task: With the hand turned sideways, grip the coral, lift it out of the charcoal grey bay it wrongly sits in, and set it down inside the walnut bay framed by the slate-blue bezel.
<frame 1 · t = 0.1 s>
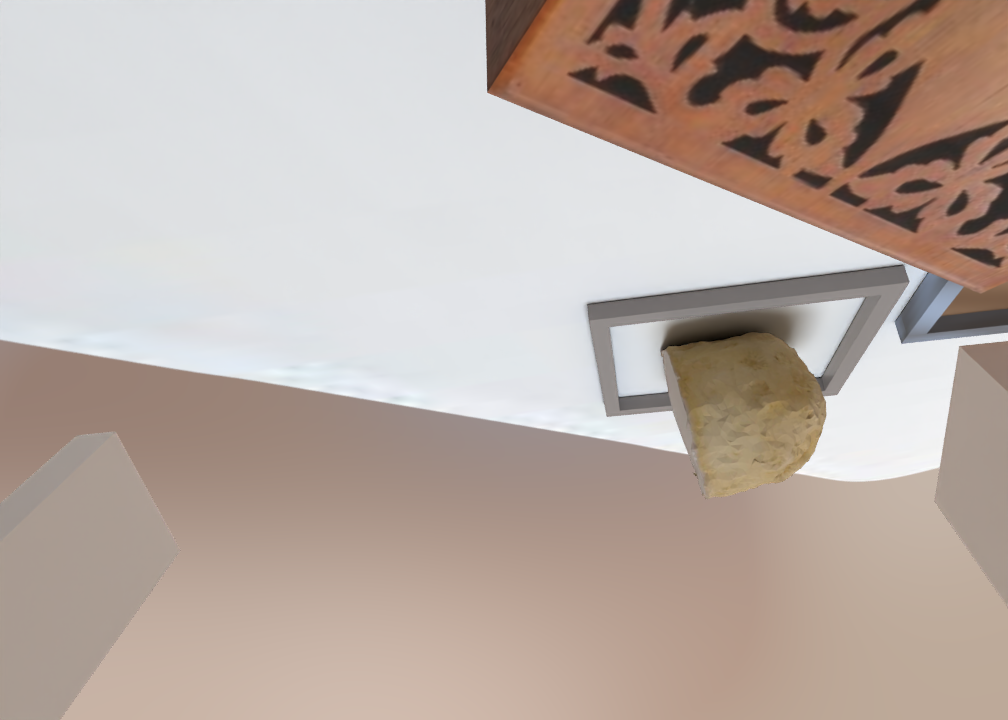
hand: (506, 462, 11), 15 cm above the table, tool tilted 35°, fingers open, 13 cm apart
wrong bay: (726, 348, 42), on the table
coral: (725, 344, 42), on the table
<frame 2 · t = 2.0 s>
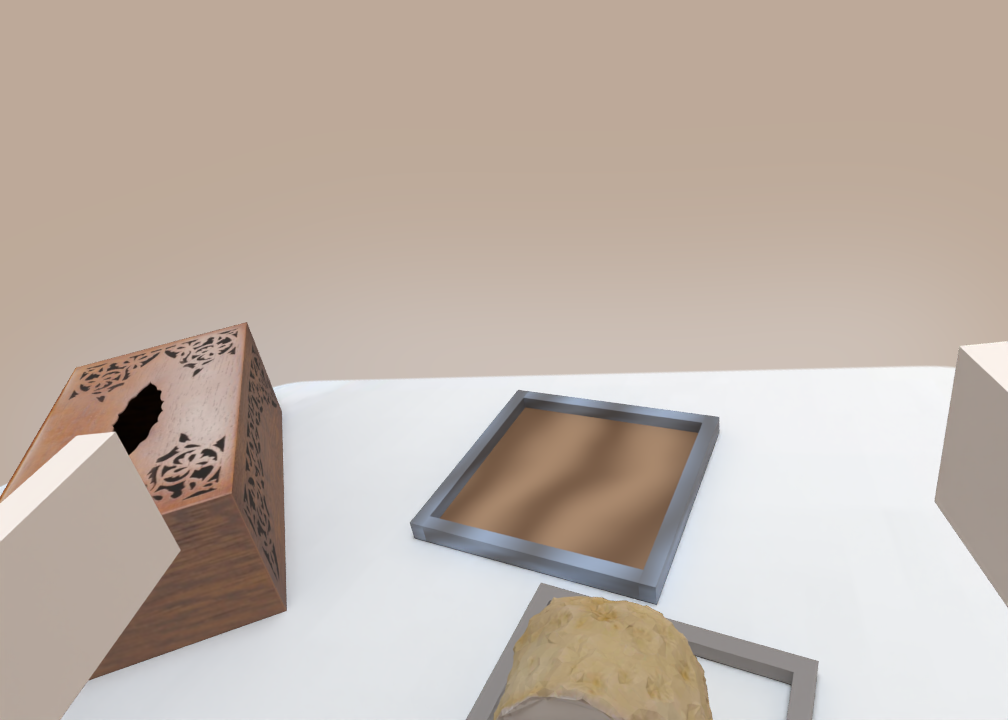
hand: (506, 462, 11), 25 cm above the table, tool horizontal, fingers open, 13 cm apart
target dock: (574, 482, 48), on the table
tissue box cover: (193, 524, 52), on the table
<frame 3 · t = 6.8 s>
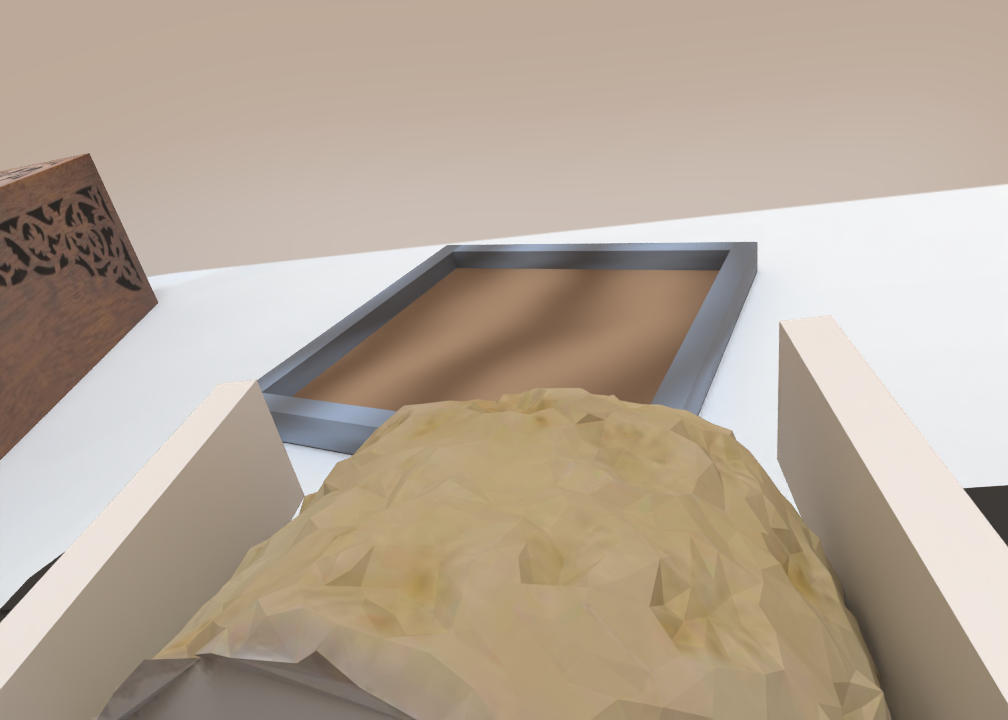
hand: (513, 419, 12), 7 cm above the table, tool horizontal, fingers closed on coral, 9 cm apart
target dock: (518, 345, 29), on the table
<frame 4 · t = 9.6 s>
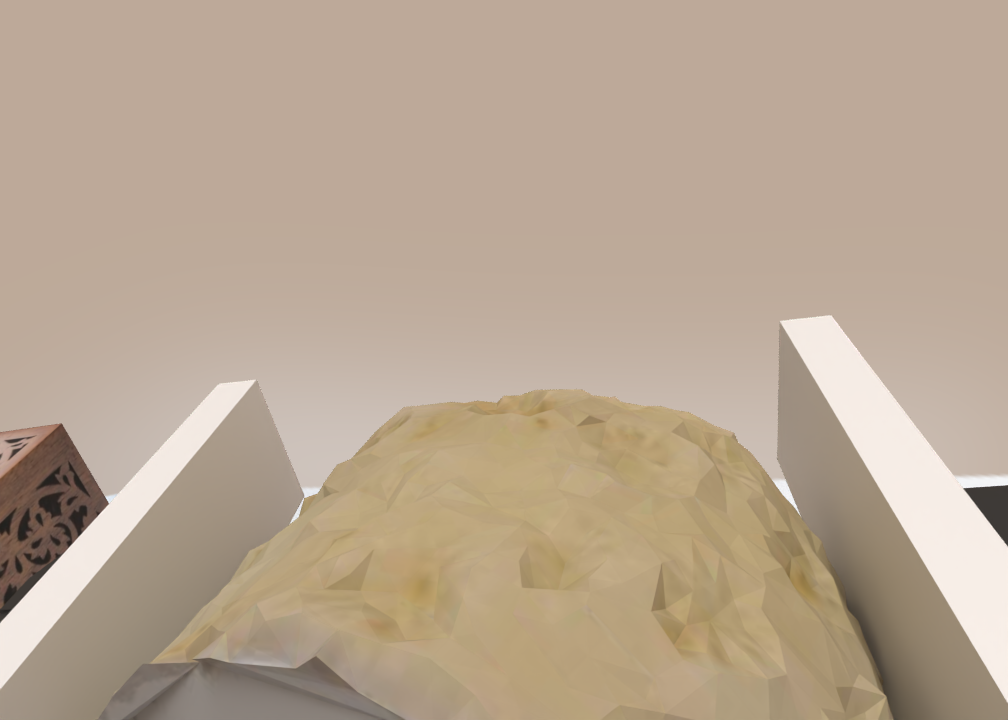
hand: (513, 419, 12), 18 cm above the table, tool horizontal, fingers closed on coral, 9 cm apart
when the fingers open (8 cm above the table, at t = 12.5 s): coral drops 1 cm, resting on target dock.
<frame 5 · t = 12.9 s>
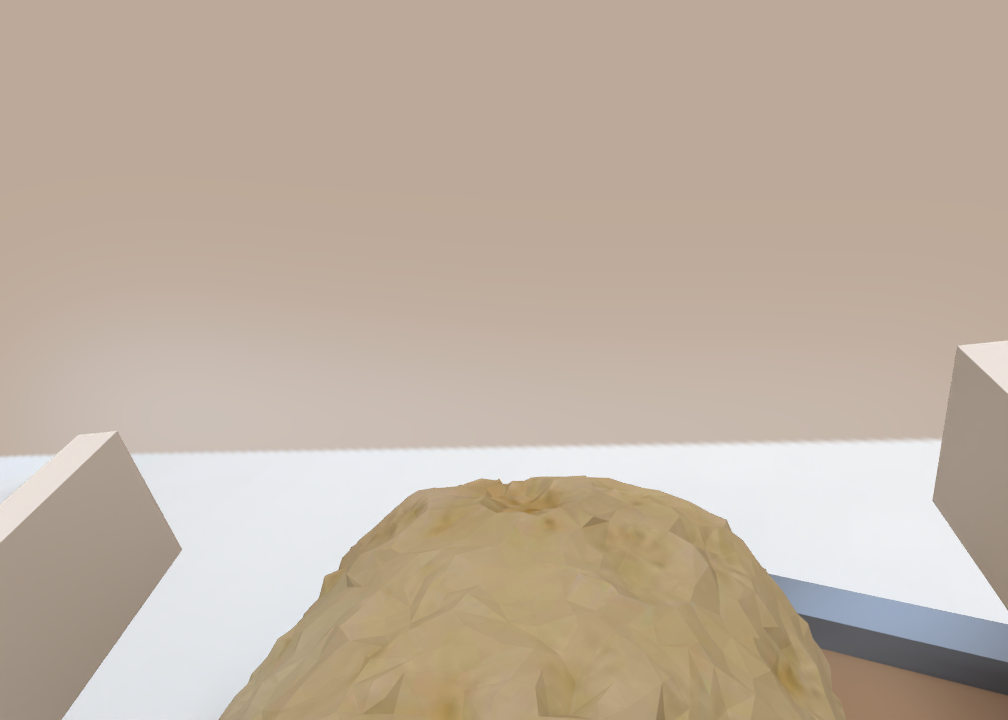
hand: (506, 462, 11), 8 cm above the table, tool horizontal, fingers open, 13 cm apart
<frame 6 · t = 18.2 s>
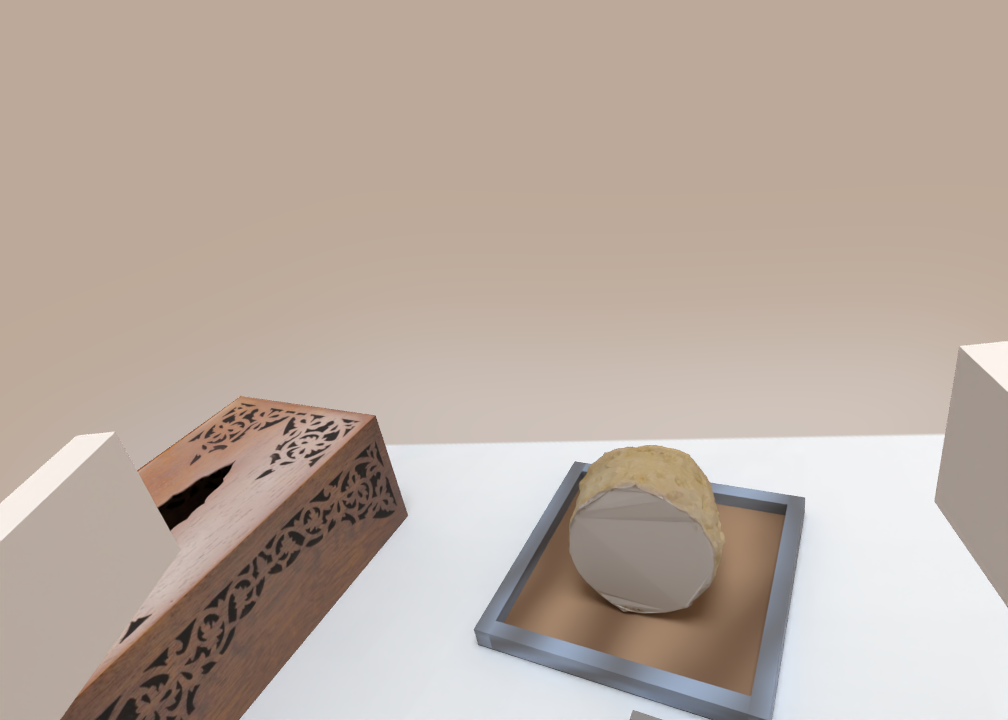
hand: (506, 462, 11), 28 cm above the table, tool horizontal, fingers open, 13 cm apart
coral: (655, 571, 44), resting on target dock
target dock: (650, 575, 44), on the table
tissue box cover: (228, 621, 48), on the table
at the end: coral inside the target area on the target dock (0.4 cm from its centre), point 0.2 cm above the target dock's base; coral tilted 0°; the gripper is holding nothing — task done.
